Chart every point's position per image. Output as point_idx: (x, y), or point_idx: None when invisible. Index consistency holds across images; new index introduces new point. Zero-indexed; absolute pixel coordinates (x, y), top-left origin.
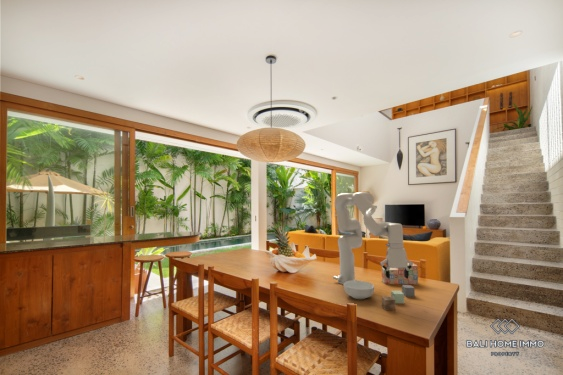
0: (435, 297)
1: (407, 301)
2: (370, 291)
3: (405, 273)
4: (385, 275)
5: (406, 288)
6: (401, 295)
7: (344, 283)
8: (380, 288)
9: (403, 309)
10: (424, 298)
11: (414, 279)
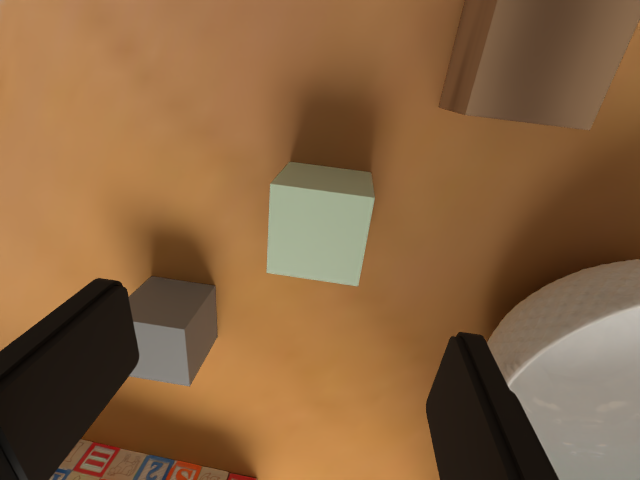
0: (10, 242)
1: (244, 197)
2: (611, 286)
3: (71, 381)
4: None
5: (178, 324)
6: (300, 182)
7: None
8: (321, 428)
9: (373, 9)
10: (92, 235)
11: (62, 470)
